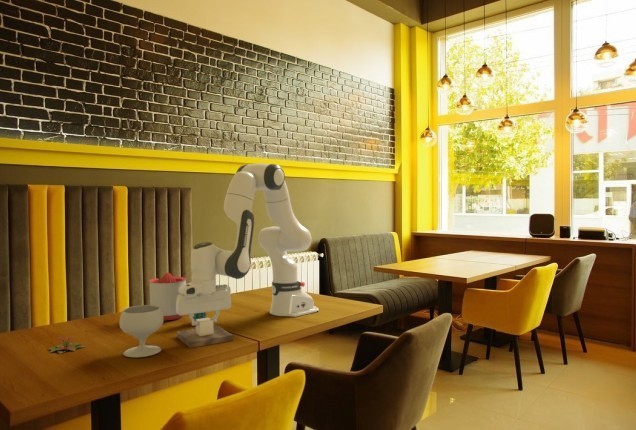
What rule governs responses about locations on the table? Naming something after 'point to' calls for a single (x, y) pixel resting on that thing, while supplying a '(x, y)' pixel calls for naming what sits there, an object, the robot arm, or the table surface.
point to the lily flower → (65, 346)
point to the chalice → (141, 327)
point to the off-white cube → (204, 326)
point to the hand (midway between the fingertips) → (204, 323)
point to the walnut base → (204, 337)
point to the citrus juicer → (166, 294)
